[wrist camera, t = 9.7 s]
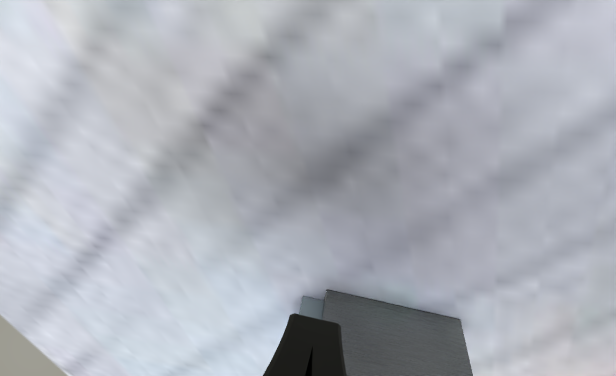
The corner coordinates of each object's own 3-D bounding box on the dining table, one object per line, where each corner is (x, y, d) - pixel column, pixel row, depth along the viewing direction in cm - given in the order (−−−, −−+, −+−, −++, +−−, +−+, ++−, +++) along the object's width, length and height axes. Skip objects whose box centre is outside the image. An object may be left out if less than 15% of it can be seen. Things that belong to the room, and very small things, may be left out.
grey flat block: (460, 319, 23) (489, 450, 17) (454, 330, 23) (480, 460, 18) (327, 289, 23) (310, 408, 17) (324, 300, 24) (307, 419, 18)
